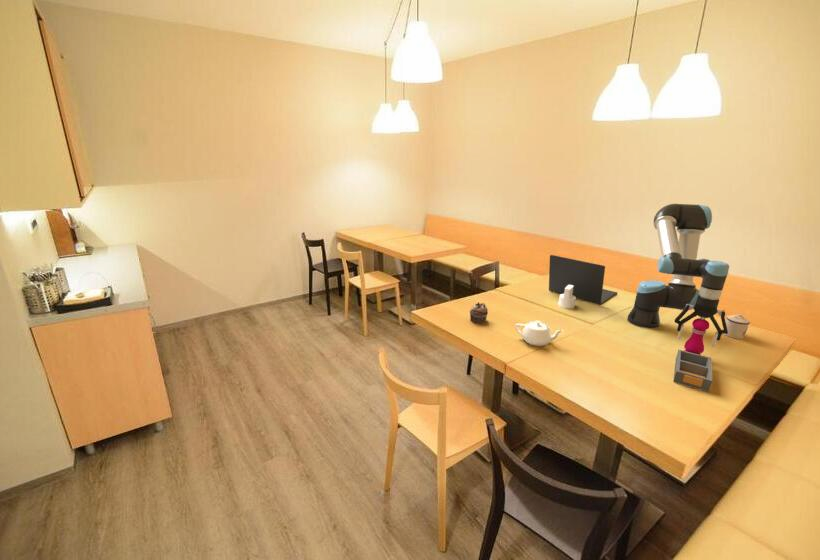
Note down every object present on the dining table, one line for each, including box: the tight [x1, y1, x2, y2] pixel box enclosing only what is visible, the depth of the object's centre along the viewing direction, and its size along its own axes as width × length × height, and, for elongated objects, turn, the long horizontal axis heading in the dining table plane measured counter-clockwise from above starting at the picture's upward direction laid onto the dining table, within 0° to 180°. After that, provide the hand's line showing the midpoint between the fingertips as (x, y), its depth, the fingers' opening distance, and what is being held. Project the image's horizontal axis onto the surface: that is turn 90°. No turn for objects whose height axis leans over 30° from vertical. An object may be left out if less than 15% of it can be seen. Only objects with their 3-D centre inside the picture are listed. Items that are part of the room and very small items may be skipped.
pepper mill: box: [683, 317, 710, 355], centre depth 168 cm, size 7×7×20 cm
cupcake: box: [469, 302, 488, 324], centre depth 203 cm, size 10×10×10 cm
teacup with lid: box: [724, 313, 751, 340], centre depth 192 cm, size 12×9×12 cm
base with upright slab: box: [557, 285, 577, 310], centre depth 225 cm, size 9×9×12 cm
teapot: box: [514, 320, 564, 347], centre depth 180 cm, size 22×14×11 cm, turn 65°
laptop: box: [548, 254, 618, 306], centre depth 243 cm, size 33×35×26 cm
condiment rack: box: [673, 349, 713, 393], centre depth 156 cm, size 12×22×5 cm, turn 144°
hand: (695, 341), depth 169 cm, fingers open, 12 cm apart
